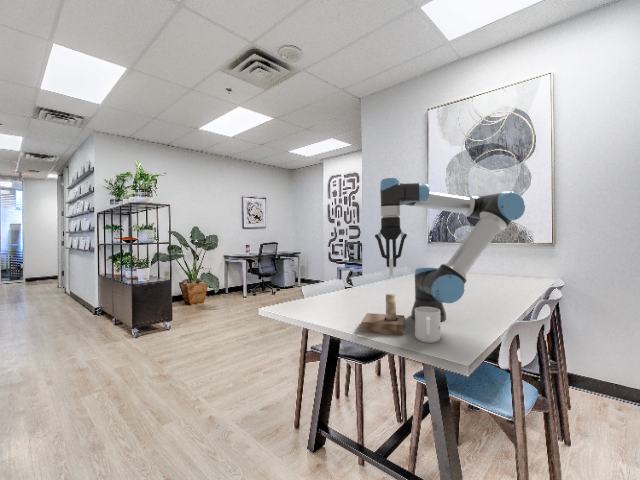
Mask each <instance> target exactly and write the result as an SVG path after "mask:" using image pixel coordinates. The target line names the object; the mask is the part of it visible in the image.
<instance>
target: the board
mask: <svg viewBox="0 0 640 480" xmlns="http://www.w3.org/2000/svg"><path fill="white" fill-rule="evenodd" d="M360 324H361V326H360V329H361V330H360V331H361V333H371V334H381V335H383V334H385V335H394V336H395V335H396V336H403V335H404V330H405V315H403V314H400V315H399V314H396V321H386V313H385V314H384V313H370V312H366V314H365V315H364V317H363V318H362V320H361V323H360Z"/></svg>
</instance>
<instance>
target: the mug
mask: <svg viewBox="0 0 640 480" xmlns="http://www.w3.org/2000/svg"><path fill="white" fill-rule="evenodd" d="M441 330H442V329H441V321H440V309H438V308H434V307H417V308H415V319H414V336H415V338H416V339H417V340H418V341H419V342H422V343H425V344H427V343H428V344H434V343H437V342H439V340H440V339H441V336H442V335H441Z"/></svg>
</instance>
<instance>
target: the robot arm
mask: <svg viewBox="0 0 640 480" xmlns="http://www.w3.org/2000/svg"><path fill="white" fill-rule="evenodd" d="M379 187H380V188H379V189H380V190H379V192H380V216H381V219H380V220H381V221H380V227H381V228H380V230H379V232H378V233H377V234H374V237H375V239H376V240H377V244H378V248H379V251H380V255H381V258H384V259H385V260H386V261H385V262H386V267H387V268H388V269H389V276H390V277H391V276H394V275H395V274H394V273H395V272H394V271H395V269H394V268H396V267H397V259H399V258H401V256H402V252H403V248H404V244H405V240H406V238H407V237H408V233H404V232H403V231H402V229H401V218H400V217H399V216H401V206H403V205H404V206H409V207H418V208H424V209H430V210H431V209H432V210H438V211H443V212H449V213H455V214H462V215H463V216H464V217H466V218H467V217H469V218H472V219H476V220H478V222H477V223H476V224H475V226H474V227H473V228H472V230H471V231H470V232H469V234H468V235H467V236H466V238H465V239H464V240H463V242H461V244H460V245H459V246H458V248H457V249H456V250H455V252H454V254H453V255H452V256H451V258H450V259H449V260H448V262H446V263H442V264H440V266H439V267H437V266H436V267H417V268H415V270H414V294H415V295H414V302H413V305H412V309H411V314H410V317H411V318H412V319H413V320H415V308H417V307H434V308H438V309H440V322H444V321H445V320H447V312H446V310H445V307H444V304H452V303H456V302H458V301H460V300H461V299H462V297H463V295H464V294H465V291H466V289H465V284H466V283H467V281H468V279H467V275H468V273H469V272H470V270H471V269H472V268H473V267H474V265H475V263H477V261H478V259H479V258H480V257H481V256H482V254H483V253H484V252H485V250H486V249H487V248H488V246H489V245H490V243H491V242H492V241H493V240H494V238H496V236H497V234H498V233H499V232H500V230H506V229H507V228H508V226H509V225H510V224H511V222H512V221H516V220H518V219H520V218H522V217H523V215H524V213H525V210H526V205H525V201H524V198H523V197H522V196H521V195H520V194H519V193H518V192H515V191H501V192H499V193H493V194H487V195H480V196H479V195H478V196H476V195H468V196H461V195H454V194H448V193H442V192H437V191H436V192H434V191H431V189H430V186H429V185H428V184H427V183H426V182H425V183H422V182H415V183H414V182H412V183H411V182H408V183H401V182H400V179H399V178H398V177H387V178H386V177H385V178H382V179H381V181H380V186H379ZM399 236H400V242H399V247H398V252H397V239H398V238H399ZM382 237H383V238H384V240H385V248H384V245H383V242H382V239H381V238H382ZM391 240H392V243H391V244H392V258H391V255H390V254H391V249H390V248H391V247H390V242H391ZM443 303H444V304H443Z"/></svg>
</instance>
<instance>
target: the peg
mask: <svg viewBox="0 0 640 480" xmlns="http://www.w3.org/2000/svg"><path fill="white" fill-rule="evenodd" d="M385 314H386V321H396V315H397V295H396V294H394V293H385Z"/></svg>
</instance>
